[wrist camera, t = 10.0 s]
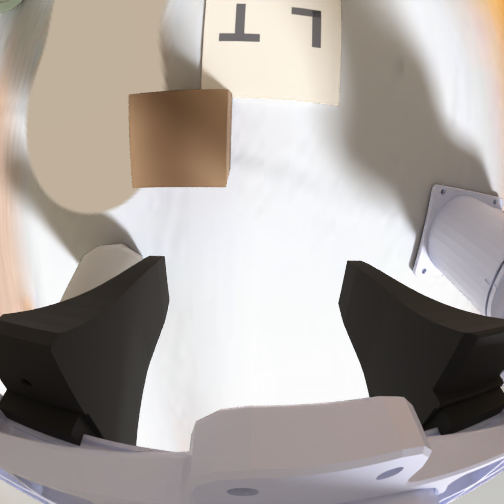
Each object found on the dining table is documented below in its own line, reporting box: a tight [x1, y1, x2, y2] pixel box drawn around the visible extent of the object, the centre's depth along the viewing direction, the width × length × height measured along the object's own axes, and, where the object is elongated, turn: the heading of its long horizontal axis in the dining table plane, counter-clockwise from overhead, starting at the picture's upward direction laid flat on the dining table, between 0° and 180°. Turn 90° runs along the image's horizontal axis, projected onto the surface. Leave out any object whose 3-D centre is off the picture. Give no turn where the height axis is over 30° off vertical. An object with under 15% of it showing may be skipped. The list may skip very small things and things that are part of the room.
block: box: [129, 89, 232, 188], centre depth 16 cm, size 5×5×5 cm
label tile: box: [201, 0, 341, 106], centre depth 15 cm, size 9×11×1 cm
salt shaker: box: [60, 244, 143, 302], centre depth 16 cm, size 6×6×13 cm
